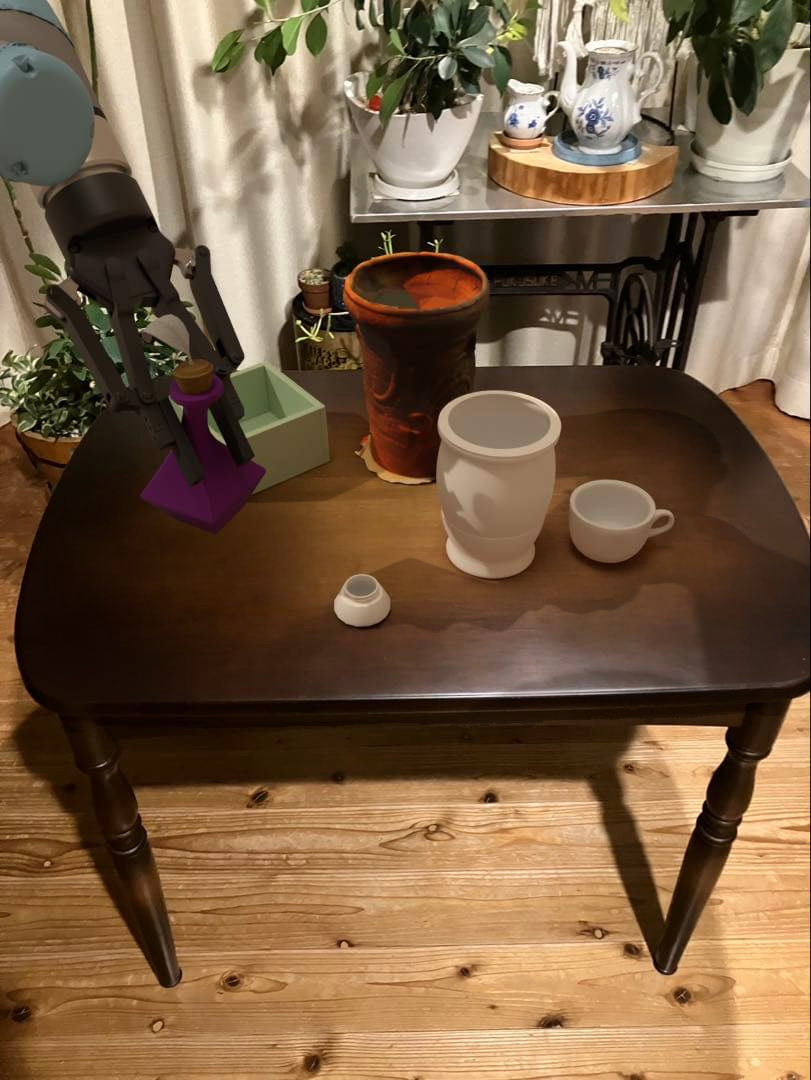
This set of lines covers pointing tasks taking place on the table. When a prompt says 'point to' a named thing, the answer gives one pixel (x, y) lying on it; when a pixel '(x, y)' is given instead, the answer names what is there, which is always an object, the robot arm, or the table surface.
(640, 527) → the teacup
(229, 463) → the perfume bottle
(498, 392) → the jar
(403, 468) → the vessel
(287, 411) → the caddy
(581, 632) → the table surface
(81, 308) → the robot arm
